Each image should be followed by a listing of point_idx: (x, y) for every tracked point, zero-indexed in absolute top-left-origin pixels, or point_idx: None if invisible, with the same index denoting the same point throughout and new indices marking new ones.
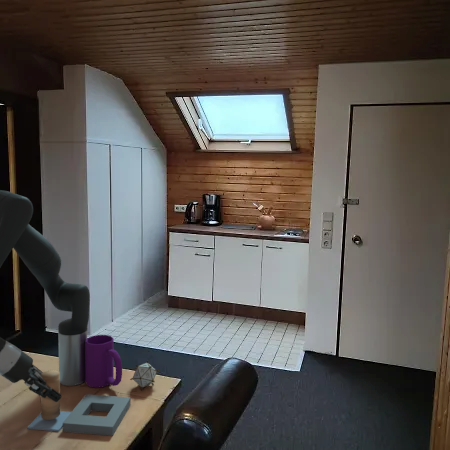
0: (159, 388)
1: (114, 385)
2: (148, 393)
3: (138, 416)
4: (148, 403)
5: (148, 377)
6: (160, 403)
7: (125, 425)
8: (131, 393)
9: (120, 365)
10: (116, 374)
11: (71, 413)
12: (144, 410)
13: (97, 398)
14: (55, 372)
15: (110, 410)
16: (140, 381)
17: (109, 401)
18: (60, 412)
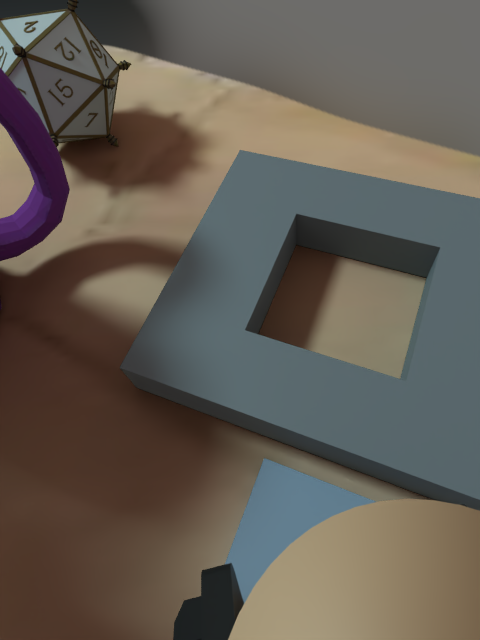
0: (127, 90)
1: (54, 228)
2: (156, 123)
3: (355, 155)
4: (247, 123)
5: (106, 61)
6: (259, 88)
7: None
8: (128, 181)
9: (14, 86)
10: (44, 156)
11: (376, 452)
12: (305, 136)
13: (201, 298)
14: (349, 606)
15: (365, 229)
16: (103, 105)
17: (258, 236)
18: (248, 551)
